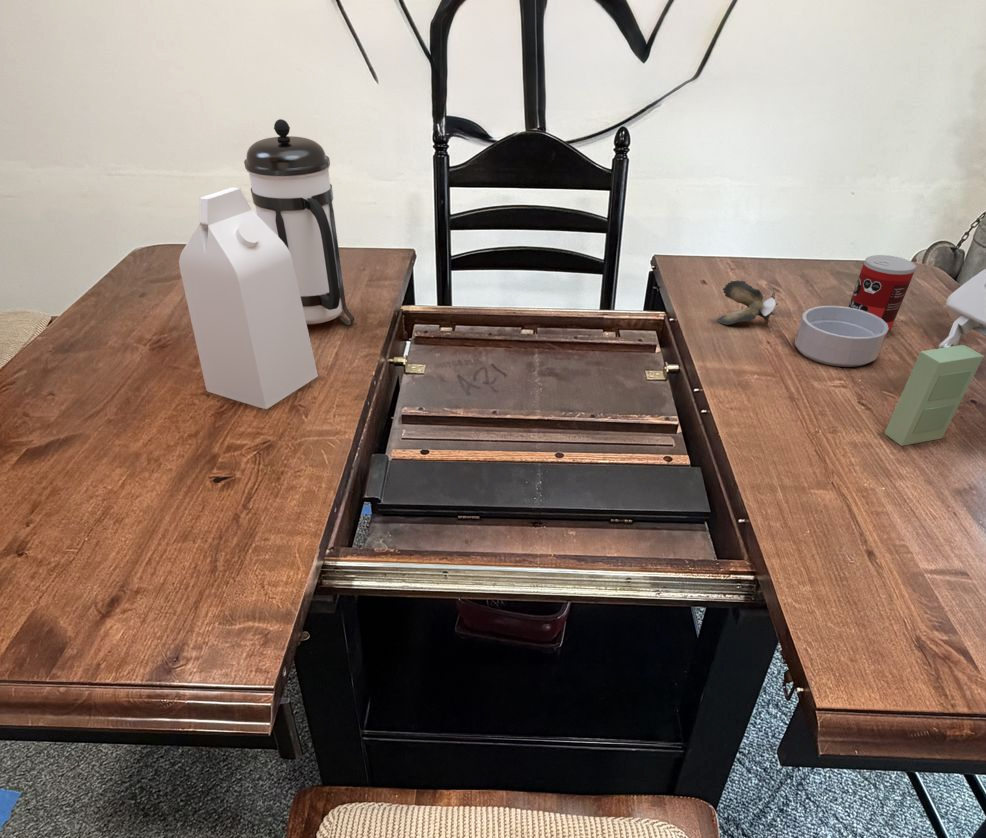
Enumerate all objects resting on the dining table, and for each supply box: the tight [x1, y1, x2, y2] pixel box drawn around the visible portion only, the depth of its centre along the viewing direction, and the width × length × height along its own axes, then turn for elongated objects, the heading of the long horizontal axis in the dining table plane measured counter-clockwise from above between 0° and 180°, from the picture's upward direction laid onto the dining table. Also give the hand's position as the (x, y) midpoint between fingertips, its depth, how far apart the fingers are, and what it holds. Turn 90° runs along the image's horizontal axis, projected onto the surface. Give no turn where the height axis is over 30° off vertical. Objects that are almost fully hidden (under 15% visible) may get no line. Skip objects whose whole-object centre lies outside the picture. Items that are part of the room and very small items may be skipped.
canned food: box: [847, 254, 917, 334], centre depth 122 cm, size 8×8×11 cm
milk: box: [178, 186, 319, 410], centre depth 99 cm, size 12×12×26 cm
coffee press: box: [243, 118, 355, 327], centre depth 115 cm, size 17×16×30 cm
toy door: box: [883, 344, 985, 447], centre depth 95 cm, size 4×7×12 cm, turn 108°
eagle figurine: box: [716, 279, 779, 325], centre depth 125 cm, size 8×7×9 cm
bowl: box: [794, 305, 890, 368], centre depth 117 cm, size 13×13×5 cm
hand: (970, 367), depth 93 cm, fingers open, 8 cm apart
